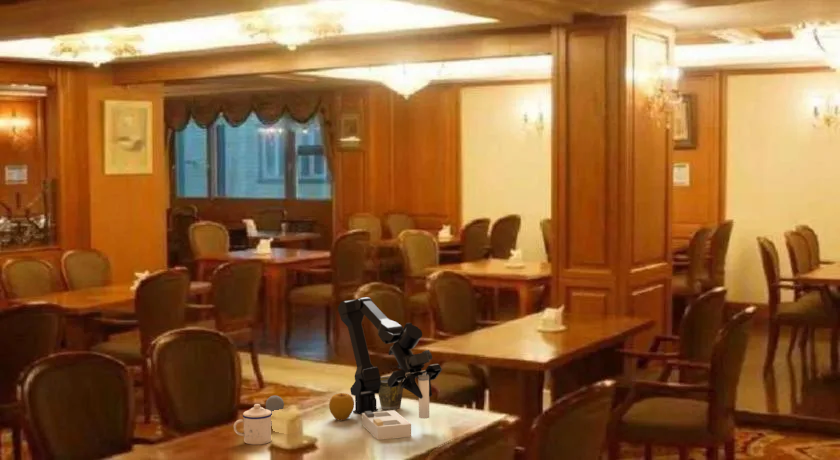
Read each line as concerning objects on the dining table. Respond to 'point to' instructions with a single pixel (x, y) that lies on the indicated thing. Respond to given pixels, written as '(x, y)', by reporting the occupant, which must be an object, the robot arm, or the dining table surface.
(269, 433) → the teacup with lid
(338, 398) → the apple
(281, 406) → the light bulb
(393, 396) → the ceramic cup
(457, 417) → the dining table surface
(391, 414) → the socket board
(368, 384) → the robot arm
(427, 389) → the plug
